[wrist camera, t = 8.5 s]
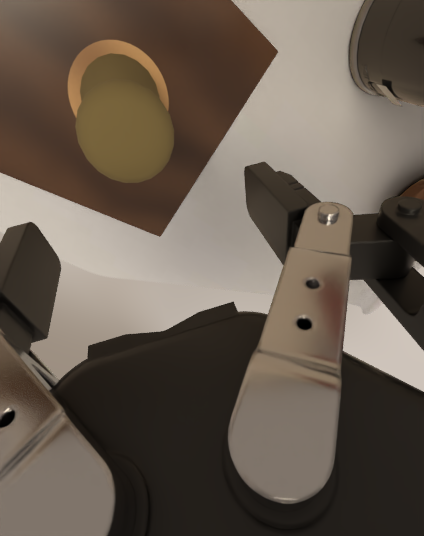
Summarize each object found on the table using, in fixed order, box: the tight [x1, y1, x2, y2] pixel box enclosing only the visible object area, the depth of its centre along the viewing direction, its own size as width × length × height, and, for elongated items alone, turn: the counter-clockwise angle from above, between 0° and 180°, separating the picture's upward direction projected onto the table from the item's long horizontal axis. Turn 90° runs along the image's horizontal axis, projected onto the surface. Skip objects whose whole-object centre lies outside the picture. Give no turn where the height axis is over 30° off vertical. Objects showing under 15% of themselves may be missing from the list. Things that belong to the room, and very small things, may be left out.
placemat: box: [0, 0, 278, 237], centre depth 23 cm, size 20×18×1 cm
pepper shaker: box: [75, 53, 174, 183], centre depth 19 cm, size 6×6×11 cm
